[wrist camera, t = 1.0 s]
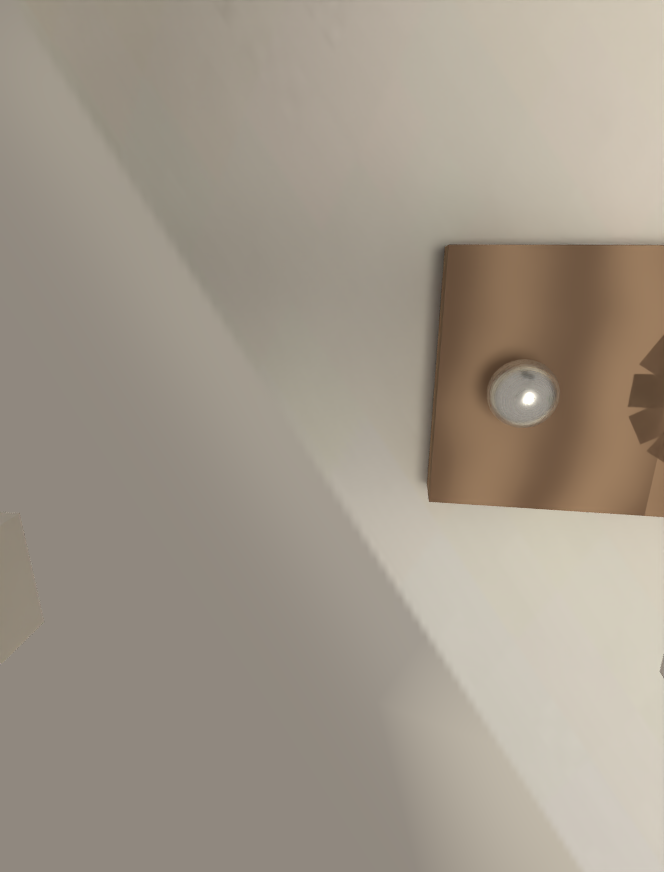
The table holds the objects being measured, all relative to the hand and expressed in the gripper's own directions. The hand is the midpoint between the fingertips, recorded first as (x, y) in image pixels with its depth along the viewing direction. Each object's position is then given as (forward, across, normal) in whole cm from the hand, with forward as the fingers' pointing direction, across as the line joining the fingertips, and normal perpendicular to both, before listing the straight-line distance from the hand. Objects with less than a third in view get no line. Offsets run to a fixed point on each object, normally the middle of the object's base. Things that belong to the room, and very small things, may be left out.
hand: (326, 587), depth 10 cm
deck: (+21, +13, 0) cm, 25 cm away
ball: (+17, +7, 0) cm, 18 cm away
